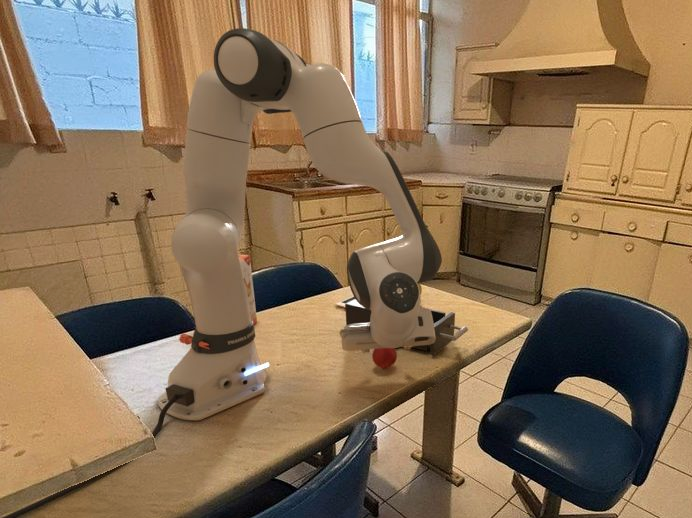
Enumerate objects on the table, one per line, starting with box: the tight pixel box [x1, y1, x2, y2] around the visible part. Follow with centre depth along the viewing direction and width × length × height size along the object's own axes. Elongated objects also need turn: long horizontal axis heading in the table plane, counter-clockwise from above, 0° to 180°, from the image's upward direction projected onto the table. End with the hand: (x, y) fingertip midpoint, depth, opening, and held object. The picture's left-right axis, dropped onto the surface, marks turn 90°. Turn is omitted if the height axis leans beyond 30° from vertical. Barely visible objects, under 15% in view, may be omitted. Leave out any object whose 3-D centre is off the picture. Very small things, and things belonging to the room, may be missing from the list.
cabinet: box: [344, 299, 400, 350], centre depth 128 cm, size 17×13×10 cm
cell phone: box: [335, 295, 355, 309], centre depth 154 cm, size 8×16×1 cm, turn 148°
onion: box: [371, 348, 398, 371], centre depth 109 cm, size 6×6×8 cm
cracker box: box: [238, 254, 258, 326], centre depth 126 cm, size 14×6×21 cm, turn 179°
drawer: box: [412, 306, 469, 356], centre depth 121 cm, size 20×11×8 cm, turn 60°
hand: (386, 347), depth 104 cm, fingers open, 8 cm apart
